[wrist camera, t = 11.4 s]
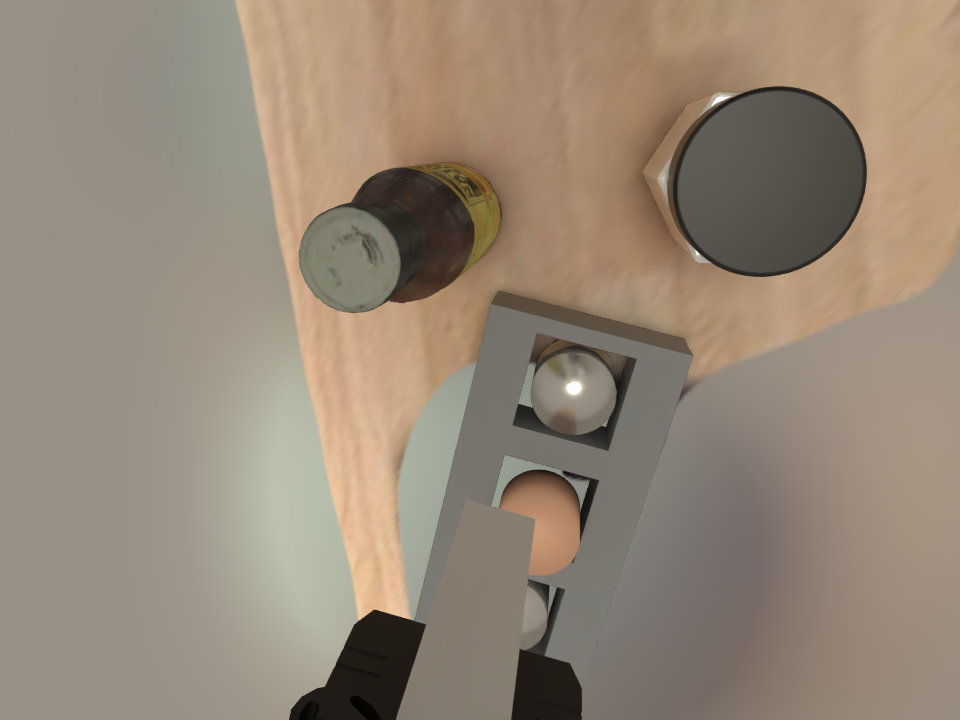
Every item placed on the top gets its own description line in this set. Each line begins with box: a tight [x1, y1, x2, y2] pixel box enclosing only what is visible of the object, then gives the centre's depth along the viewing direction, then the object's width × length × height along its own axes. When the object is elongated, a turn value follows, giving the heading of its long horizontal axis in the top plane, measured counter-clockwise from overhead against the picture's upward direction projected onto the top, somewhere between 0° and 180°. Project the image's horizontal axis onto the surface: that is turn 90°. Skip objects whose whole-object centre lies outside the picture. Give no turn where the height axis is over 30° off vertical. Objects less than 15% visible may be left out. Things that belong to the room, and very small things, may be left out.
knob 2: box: [531, 339, 616, 435], centre depth 46 cm, size 5×5×4 cm
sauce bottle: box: [299, 163, 502, 313], centre depth 37 cm, size 6×6×20 cm
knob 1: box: [520, 579, 549, 650], centre depth 51 cm, size 5×5×4 cm
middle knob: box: [499, 470, 580, 576], centre depth 45 cm, size 5×5×4 cm
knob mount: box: [414, 291, 693, 687], centre depth 49 cm, size 24×12×4 cm, turn 166°
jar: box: [643, 86, 867, 277], centre depth 38 cm, size 9×8×12 cm
